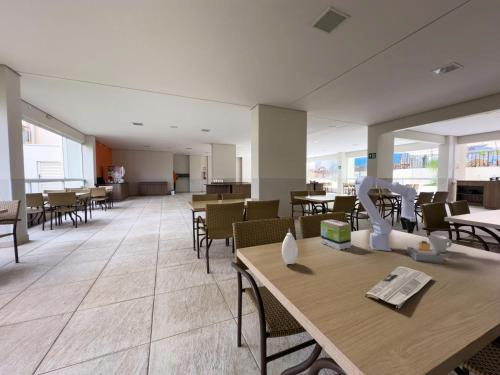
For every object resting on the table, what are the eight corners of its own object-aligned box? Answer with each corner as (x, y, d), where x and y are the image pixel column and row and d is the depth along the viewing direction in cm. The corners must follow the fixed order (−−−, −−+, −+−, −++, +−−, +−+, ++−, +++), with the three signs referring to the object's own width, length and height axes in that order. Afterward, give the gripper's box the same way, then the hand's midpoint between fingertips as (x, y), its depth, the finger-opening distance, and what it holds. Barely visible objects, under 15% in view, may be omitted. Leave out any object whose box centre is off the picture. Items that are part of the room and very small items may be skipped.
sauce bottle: (298, 268, 98) (297, 230, 97) (281, 267, 100) (280, 230, 99) (297, 261, 106) (297, 226, 105) (282, 260, 107) (281, 226, 106)
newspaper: (397, 269, 95) (397, 262, 95) (433, 280, 85) (433, 271, 85) (362, 299, 73) (363, 289, 73) (405, 317, 63) (405, 306, 63)
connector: (421, 257, 105) (421, 242, 104) (418, 254, 108) (418, 240, 108) (430, 258, 104) (430, 242, 103) (426, 255, 107) (426, 240, 107)
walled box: (416, 261, 103) (416, 252, 102) (407, 253, 113) (407, 245, 113) (443, 263, 99) (444, 254, 99) (432, 255, 109) (432, 246, 109)
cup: (445, 248, 118) (445, 234, 118) (457, 254, 110) (457, 239, 110) (424, 248, 119) (424, 234, 119) (435, 253, 111) (435, 239, 111)
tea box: (320, 243, 133) (320, 220, 132) (331, 241, 137) (331, 218, 137) (339, 250, 119) (339, 225, 119) (351, 247, 124) (351, 223, 123)
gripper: (422, 210, 111) (421, 235, 112) (411, 206, 125) (410, 228, 126) (406, 209, 113) (406, 234, 114) (397, 206, 127) (397, 228, 128)
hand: (407, 231), depth 120 cm, fingers open, 7 cm apart
